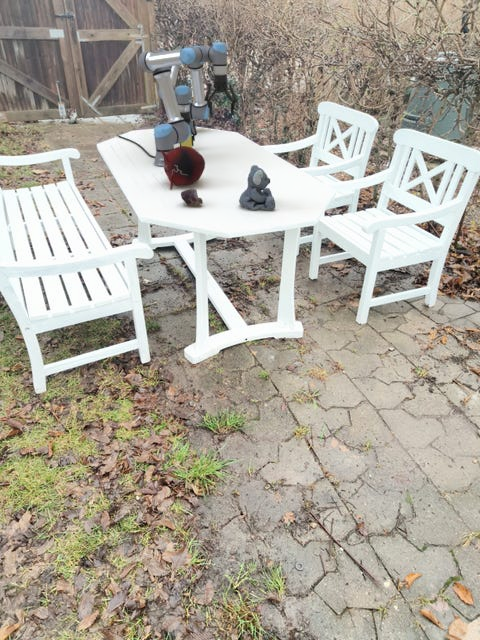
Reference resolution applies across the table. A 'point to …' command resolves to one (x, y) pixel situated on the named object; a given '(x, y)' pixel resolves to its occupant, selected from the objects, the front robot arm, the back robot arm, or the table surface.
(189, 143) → the tin
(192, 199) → the rock
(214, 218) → the table surface
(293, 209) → the table surface
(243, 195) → the koala plush
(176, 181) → the dark red rounded lump
